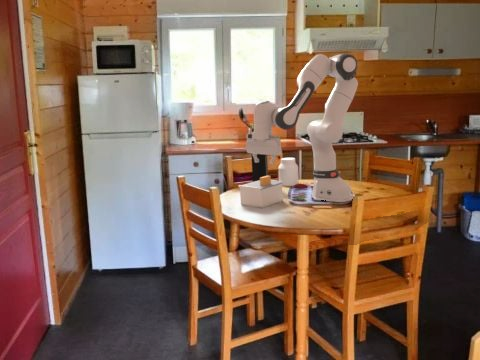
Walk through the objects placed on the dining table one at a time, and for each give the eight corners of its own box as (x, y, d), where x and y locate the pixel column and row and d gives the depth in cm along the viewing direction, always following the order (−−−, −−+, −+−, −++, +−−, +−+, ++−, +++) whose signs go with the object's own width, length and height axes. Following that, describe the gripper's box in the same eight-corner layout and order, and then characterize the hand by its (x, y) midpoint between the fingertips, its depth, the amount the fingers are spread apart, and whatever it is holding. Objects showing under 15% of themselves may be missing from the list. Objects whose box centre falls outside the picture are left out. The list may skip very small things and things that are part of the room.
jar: (291, 186, 272) (290, 160, 269) (276, 185, 278) (275, 159, 275) (300, 182, 281) (300, 157, 278) (286, 181, 287) (285, 156, 284)
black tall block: (266, 189, 268) (264, 140, 262) (253, 189, 269) (250, 140, 264) (268, 186, 275) (266, 138, 270) (255, 186, 277) (252, 138, 271)
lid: (282, 183, 239) (281, 174, 238) (261, 189, 227) (260, 180, 227) (260, 180, 248) (260, 172, 247) (239, 186, 237) (239, 177, 236)
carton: (284, 200, 241) (283, 181, 239) (260, 208, 228) (259, 188, 226) (262, 197, 251) (262, 178, 249) (239, 204, 238) (238, 185, 236)
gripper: (284, 135, 226) (284, 164, 229) (252, 133, 240) (253, 160, 243) (275, 136, 222) (276, 166, 224) (243, 134, 235) (244, 162, 238)
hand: (264, 163), depth 233 cm, fingers open, 8 cm apart
